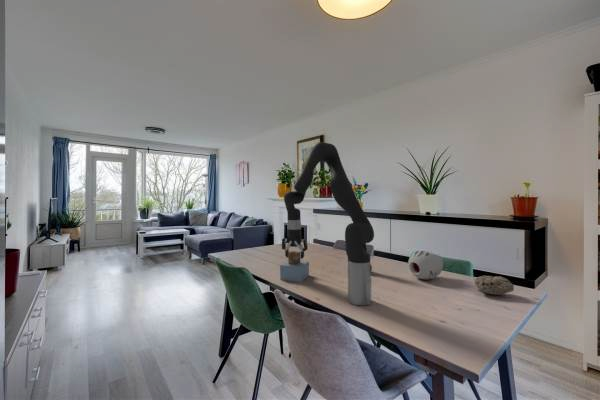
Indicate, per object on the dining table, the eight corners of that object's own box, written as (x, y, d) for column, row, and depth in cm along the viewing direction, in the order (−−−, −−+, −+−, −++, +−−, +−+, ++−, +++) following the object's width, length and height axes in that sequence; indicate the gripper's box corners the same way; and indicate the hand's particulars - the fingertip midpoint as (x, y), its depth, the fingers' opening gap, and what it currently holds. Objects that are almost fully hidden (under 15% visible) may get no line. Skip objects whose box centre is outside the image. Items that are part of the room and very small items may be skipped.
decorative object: (453, 280, 139) (453, 251, 139) (425, 285, 132) (425, 254, 132) (429, 272, 154) (428, 245, 153) (402, 276, 147) (402, 248, 146)
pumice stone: (511, 293, 121) (511, 275, 121) (515, 302, 111) (515, 283, 110) (473, 287, 128) (473, 271, 128) (474, 296, 118) (474, 278, 117)
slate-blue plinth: (308, 275, 152) (308, 261, 152) (301, 282, 141) (301, 267, 140) (289, 273, 156) (289, 259, 156) (280, 280, 145) (280, 265, 145)
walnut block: (300, 262, 150) (300, 251, 149) (297, 264, 145) (296, 253, 145) (292, 261, 151) (291, 251, 151) (288, 264, 147) (288, 252, 147)
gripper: (279, 228, 147) (279, 258, 147) (304, 229, 142) (304, 260, 142) (285, 226, 154) (285, 255, 154) (308, 227, 149) (309, 257, 149)
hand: (294, 257), depth 148 cm, fingers open, 8 cm apart
